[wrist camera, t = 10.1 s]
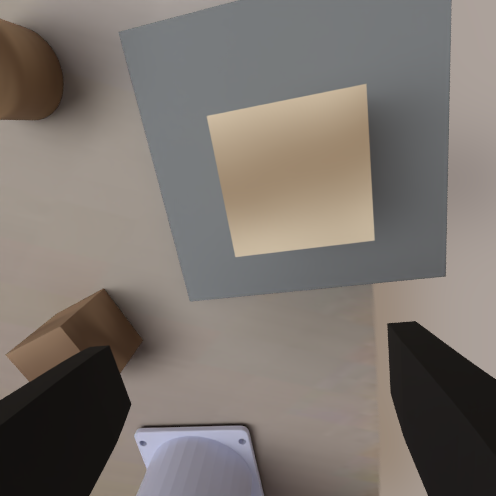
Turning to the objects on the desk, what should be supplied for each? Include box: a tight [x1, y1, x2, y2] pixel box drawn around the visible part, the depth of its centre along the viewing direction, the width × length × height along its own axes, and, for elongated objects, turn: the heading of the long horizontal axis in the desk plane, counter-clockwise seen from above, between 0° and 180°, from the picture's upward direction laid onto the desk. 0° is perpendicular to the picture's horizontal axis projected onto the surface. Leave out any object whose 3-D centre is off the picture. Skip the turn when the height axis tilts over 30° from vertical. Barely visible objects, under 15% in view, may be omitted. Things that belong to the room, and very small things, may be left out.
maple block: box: [207, 84, 375, 257], centre depth 12 cm, size 4×4×6 cm
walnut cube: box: [6, 289, 143, 382], centre depth 19 cm, size 4×4×4 cm
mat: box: [119, 0, 451, 301], centre depth 15 cm, size 13×13×1 cm
